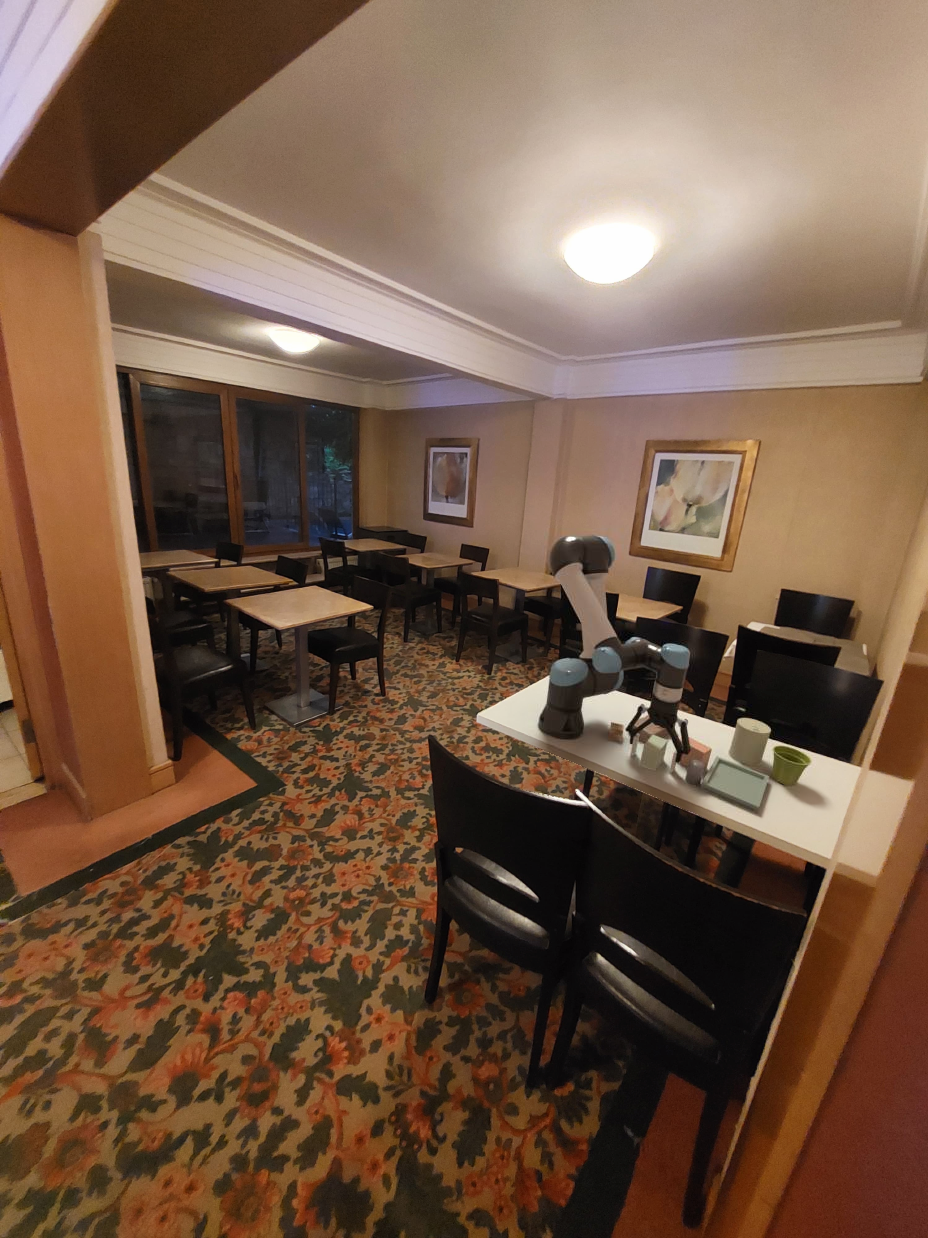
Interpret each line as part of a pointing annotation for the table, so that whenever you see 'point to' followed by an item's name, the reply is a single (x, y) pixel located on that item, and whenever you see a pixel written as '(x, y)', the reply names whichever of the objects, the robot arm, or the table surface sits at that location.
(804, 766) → the plant pot
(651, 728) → the brick
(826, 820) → the table surface
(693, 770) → the grey canister
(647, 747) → the sage block
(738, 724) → the can
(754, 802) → the tray
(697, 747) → the terracotta block
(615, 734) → the oak block
